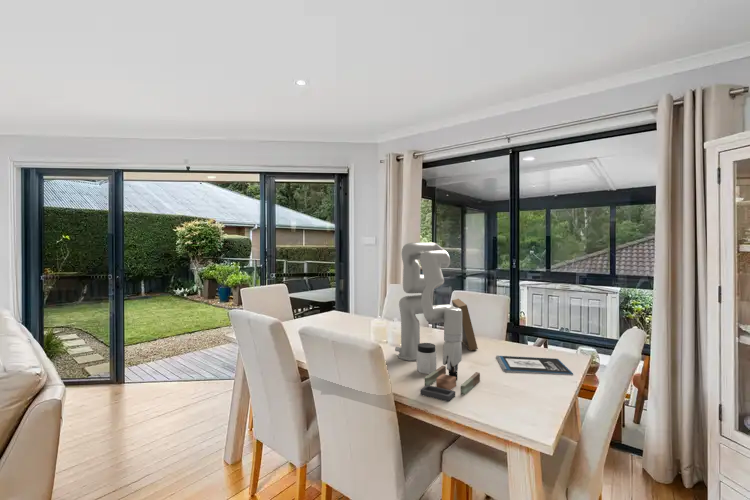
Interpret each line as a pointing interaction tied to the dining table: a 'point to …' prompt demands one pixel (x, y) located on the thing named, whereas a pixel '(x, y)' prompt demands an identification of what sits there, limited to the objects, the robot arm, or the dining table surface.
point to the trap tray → (437, 393)
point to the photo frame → (466, 325)
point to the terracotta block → (446, 381)
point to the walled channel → (464, 387)
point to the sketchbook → (533, 365)
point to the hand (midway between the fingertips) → (453, 380)
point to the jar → (426, 358)
